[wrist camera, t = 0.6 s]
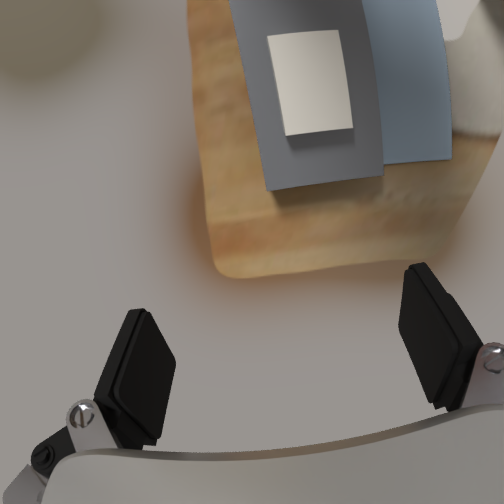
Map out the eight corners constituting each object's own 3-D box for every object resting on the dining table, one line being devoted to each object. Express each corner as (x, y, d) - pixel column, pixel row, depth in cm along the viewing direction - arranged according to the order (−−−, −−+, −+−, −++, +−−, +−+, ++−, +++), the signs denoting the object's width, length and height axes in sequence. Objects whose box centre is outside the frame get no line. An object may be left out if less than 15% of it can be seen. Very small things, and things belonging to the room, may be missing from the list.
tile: (266, 39, 23) (267, 36, 21) (332, 33, 22) (338, 29, 20) (283, 132, 27) (285, 135, 25) (346, 124, 27) (353, 127, 25)
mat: (345, -8, 22) (346, -9, 22) (433, 0, 21) (435, -1, 21) (371, 164, 32) (372, 165, 32) (450, 158, 31) (451, 159, 31)
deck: (230, 2, 24) (226, -8, 20) (345, -8, 22) (357, -18, 19) (265, 179, 34) (266, 191, 30) (371, 164, 32) (384, 175, 29)
